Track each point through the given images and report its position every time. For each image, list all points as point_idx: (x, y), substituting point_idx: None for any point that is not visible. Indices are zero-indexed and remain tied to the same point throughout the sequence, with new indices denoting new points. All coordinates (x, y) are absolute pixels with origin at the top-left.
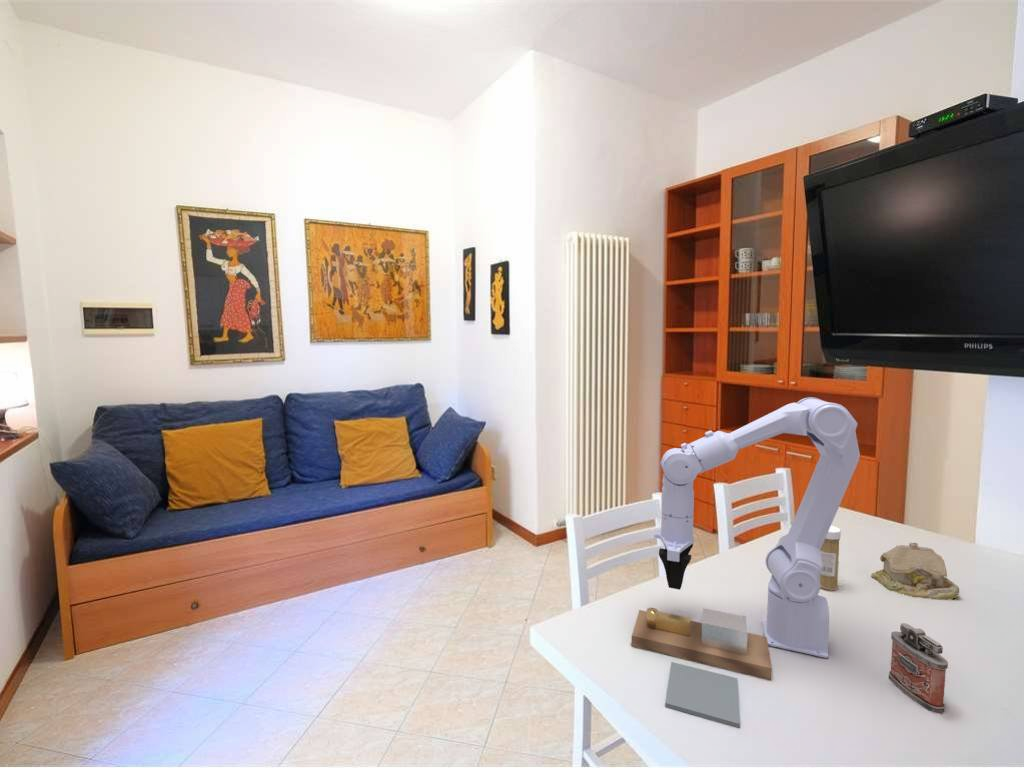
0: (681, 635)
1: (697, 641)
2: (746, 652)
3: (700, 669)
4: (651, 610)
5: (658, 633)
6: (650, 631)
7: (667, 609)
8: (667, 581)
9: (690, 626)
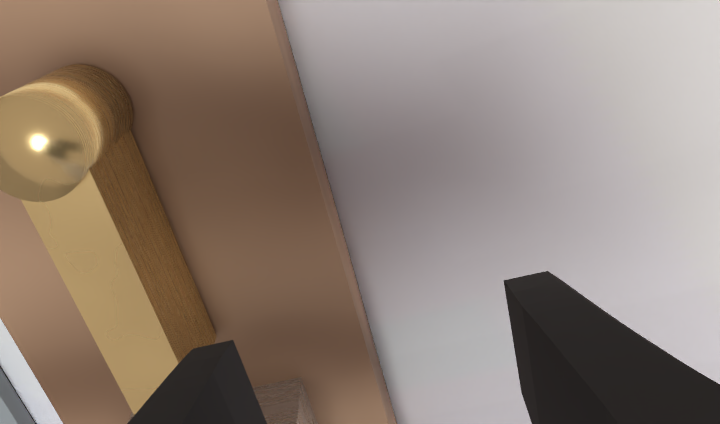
0: None
1: None
2: None
3: (7, 410)
4: (21, 141)
5: None
6: None
7: (537, 53)
8: (153, 393)
9: (281, 318)
